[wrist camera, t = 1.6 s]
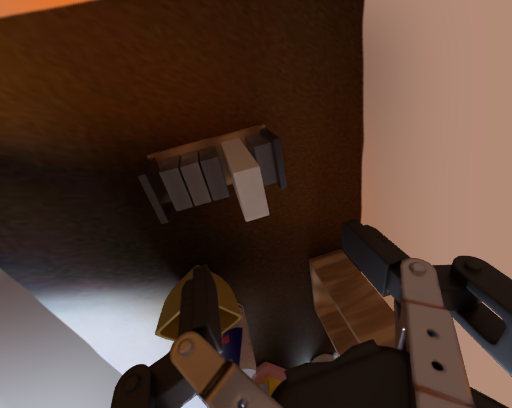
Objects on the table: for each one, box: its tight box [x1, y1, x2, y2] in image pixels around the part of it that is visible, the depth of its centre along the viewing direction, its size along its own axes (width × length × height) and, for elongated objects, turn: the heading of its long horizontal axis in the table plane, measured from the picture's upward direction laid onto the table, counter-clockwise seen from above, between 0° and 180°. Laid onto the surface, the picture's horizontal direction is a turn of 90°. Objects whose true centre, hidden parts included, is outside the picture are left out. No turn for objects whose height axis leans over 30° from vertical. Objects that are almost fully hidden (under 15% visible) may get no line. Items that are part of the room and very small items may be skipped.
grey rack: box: [138, 124, 287, 224], centre depth 28 cm, size 15×7×7 cm, turn 102°
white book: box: [221, 138, 269, 222], centre depth 26 cm, size 2×5×11 cm, turn 12°
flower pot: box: [155, 265, 242, 341], centre depth 36 cm, size 9×9×9 cm
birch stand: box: [309, 249, 395, 356], centre depth 39 cm, size 16×7×22 cm, turn 12°
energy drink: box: [221, 303, 256, 380], centre depth 41 cm, size 5×5×12 cm
